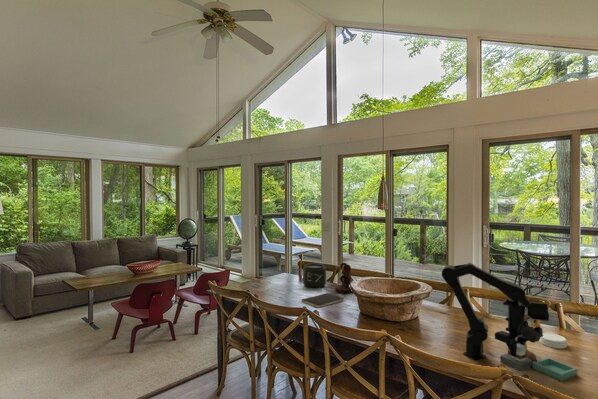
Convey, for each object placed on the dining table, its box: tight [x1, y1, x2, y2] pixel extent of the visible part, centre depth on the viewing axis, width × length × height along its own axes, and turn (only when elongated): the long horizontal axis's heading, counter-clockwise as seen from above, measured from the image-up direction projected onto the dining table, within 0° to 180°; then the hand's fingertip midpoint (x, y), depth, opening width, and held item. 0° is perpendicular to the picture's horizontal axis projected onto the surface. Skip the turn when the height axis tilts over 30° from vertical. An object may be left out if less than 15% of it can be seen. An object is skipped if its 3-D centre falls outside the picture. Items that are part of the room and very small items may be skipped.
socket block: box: [499, 353, 534, 372], centre depth 134 cm, size 8×8×2 cm
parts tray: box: [532, 357, 578, 382], centre depth 127 cm, size 10×10×2 cm
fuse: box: [507, 344, 526, 362], centre depth 134 cm, size 3×5×8 cm, turn 25°
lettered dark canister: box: [302, 263, 327, 290], centre depth 255 cm, size 18×18×16 cm
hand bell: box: [524, 342, 538, 362], centre depth 139 cm, size 8×8×16 cm
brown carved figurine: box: [335, 262, 352, 294], centre depth 241 cm, size 15×15×20 cm
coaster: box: [538, 332, 568, 350], centre depth 152 cm, size 10×10×4 cm
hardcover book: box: [301, 292, 345, 308], centre depth 217 cm, size 16×23×2 cm
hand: (516, 355), depth 134 cm, fingers closed on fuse, 3 cm apart
